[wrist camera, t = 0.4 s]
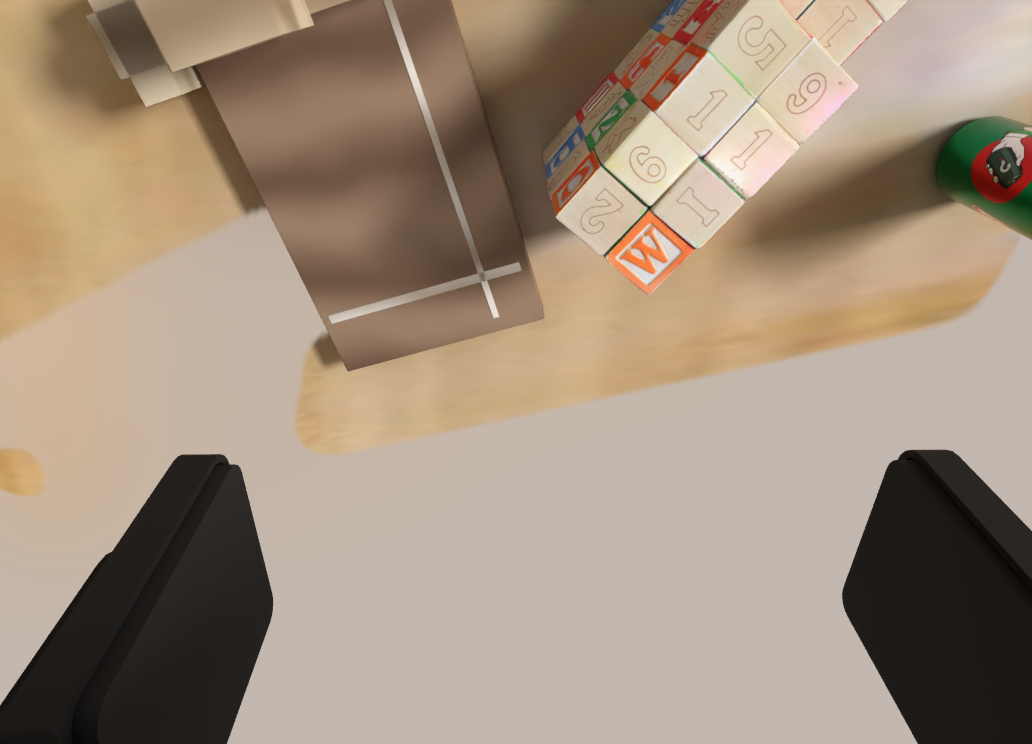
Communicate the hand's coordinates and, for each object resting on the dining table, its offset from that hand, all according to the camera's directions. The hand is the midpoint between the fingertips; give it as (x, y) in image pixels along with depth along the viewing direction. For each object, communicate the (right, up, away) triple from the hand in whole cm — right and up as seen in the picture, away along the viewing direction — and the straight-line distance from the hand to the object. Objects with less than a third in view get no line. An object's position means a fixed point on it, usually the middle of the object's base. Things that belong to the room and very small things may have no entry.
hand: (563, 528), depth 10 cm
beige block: (-14, +22, +26) cm, 37 cm away
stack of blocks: (+10, +21, +28) cm, 36 cm away
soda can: (+27, +16, +31) cm, 45 cm away
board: (-9, +16, +30) cm, 35 cm away
